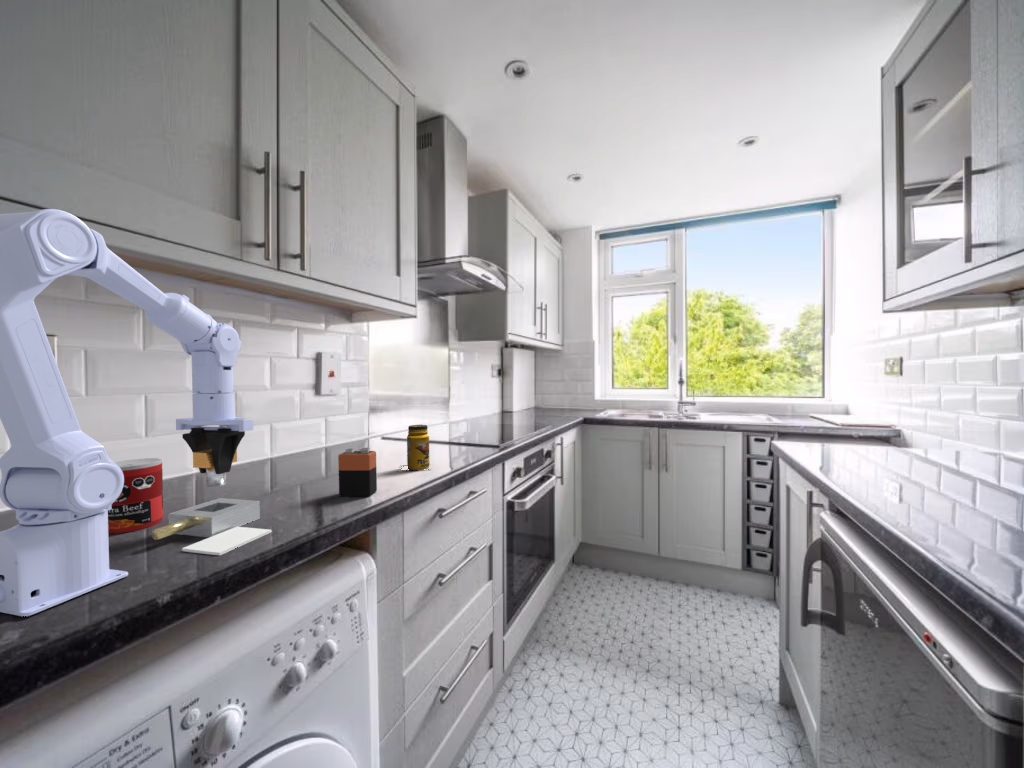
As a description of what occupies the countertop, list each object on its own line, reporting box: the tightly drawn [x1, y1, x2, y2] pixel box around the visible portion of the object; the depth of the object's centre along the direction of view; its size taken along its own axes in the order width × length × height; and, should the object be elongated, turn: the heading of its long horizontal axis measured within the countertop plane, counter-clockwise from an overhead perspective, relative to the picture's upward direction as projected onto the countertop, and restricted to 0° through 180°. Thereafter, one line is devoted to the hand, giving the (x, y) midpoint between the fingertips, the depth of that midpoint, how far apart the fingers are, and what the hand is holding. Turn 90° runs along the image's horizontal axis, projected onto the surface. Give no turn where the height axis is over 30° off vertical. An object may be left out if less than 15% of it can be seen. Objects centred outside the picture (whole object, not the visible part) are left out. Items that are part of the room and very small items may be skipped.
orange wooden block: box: [192, 448, 238, 488], centre depth 70 cm, size 6×3×6 cm, turn 166°
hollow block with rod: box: [151, 497, 261, 541], centre depth 68 cm, size 14×9×3 cm, turn 166°
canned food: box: [108, 457, 164, 534], centre depth 71 cm, size 8×8×11 cm
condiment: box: [398, 424, 432, 473], centre depth 113 cm, size 7×8×12 cm
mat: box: [181, 526, 273, 556], centre depth 63 cm, size 9×7×1 cm
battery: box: [337, 447, 378, 498], centre depth 88 cm, size 4×7×10 cm, turn 87°
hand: (215, 472), depth 70 cm, fingers closed on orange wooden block, 3 cm apart
